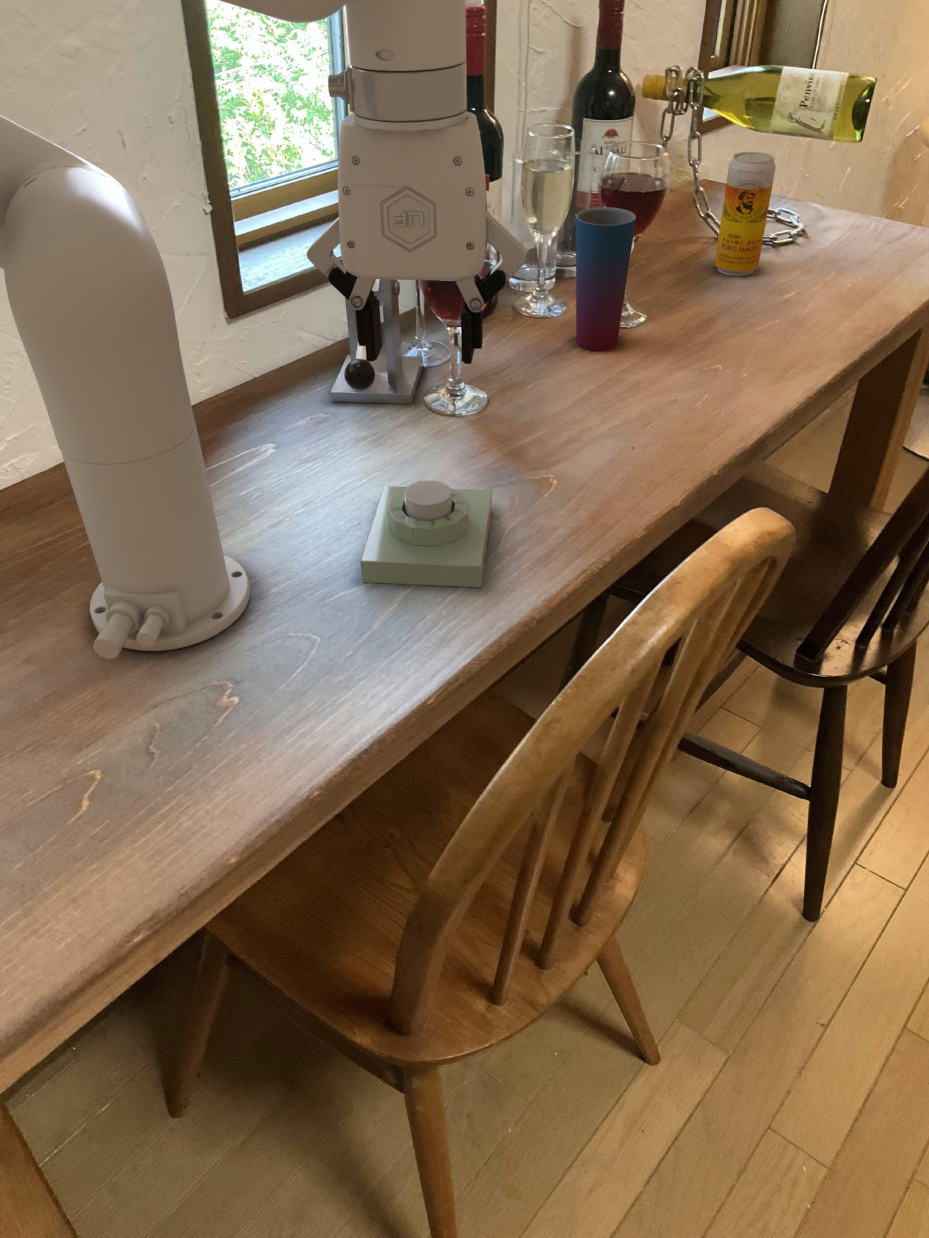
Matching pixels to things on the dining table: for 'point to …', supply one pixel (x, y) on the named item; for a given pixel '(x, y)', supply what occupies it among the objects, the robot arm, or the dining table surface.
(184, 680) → the dining table surface
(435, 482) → the beige push button
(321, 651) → the dining table surface
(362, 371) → the flush lever
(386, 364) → the lever bracket
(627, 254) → the cup
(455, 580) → the block
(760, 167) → the beer can
